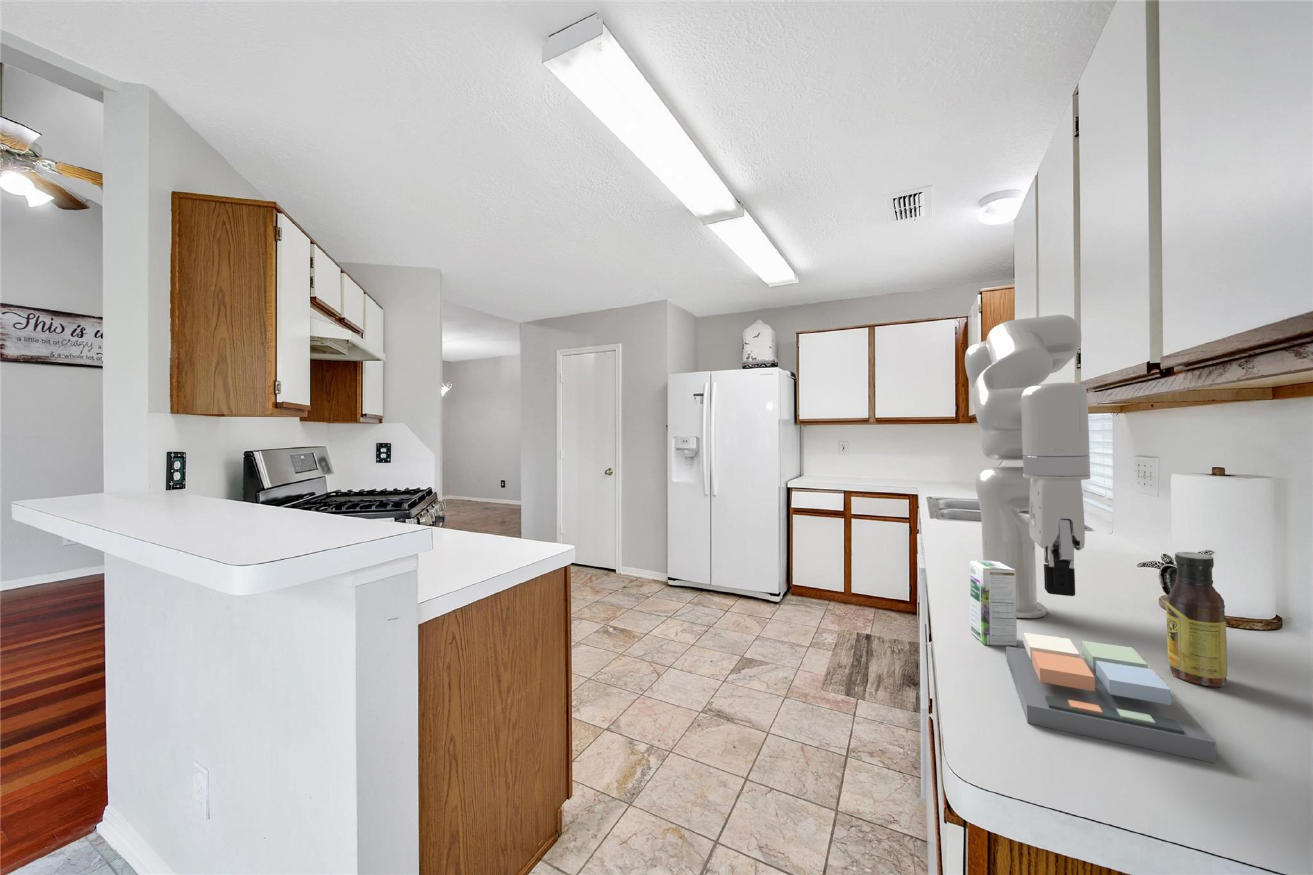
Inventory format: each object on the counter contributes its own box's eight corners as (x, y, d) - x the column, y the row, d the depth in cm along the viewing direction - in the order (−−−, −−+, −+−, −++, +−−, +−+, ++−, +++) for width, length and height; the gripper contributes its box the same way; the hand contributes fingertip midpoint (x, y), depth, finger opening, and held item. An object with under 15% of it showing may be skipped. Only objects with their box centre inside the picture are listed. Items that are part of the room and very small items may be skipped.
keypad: (1006, 660, 83) (1006, 642, 83) (1148, 683, 74) (1148, 664, 74) (1027, 722, 66) (1026, 700, 66) (1216, 763, 57) (1215, 737, 57)
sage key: (1081, 652, 77) (1081, 640, 77) (1132, 660, 74) (1132, 647, 74) (1093, 669, 72) (1092, 656, 72) (1148, 678, 69) (1147, 664, 69)
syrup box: (969, 632, 95) (967, 560, 95) (1002, 633, 94) (1000, 560, 94) (984, 645, 89) (981, 568, 89) (1019, 646, 88) (1016, 568, 88)
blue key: (1096, 674, 70) (1095, 660, 70) (1152, 683, 67) (1151, 669, 67) (1109, 694, 65) (1109, 679, 65) (1171, 704, 62) (1170, 689, 62)
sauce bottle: (1171, 665, 80) (1167, 546, 80) (1229, 679, 75) (1226, 553, 75) (1164, 678, 76) (1161, 553, 76) (1226, 694, 71) (1222, 561, 71)
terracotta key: (1032, 663, 74) (1031, 650, 74) (1082, 671, 71) (1082, 658, 71) (1040, 681, 69) (1039, 667, 69) (1095, 691, 66) (1094, 677, 66)
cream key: (1023, 644, 81) (1023, 632, 81) (1069, 651, 78) (1069, 638, 78) (1030, 659, 75) (1030, 646, 75) (1080, 667, 72) (1079, 654, 72)
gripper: (1015, 464, 78) (1019, 576, 78) (1032, 471, 65) (1037, 606, 65) (1075, 464, 74) (1079, 582, 74) (1106, 472, 61) (1111, 614, 61)
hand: (1059, 593), depth 70 cm, fingers closed
